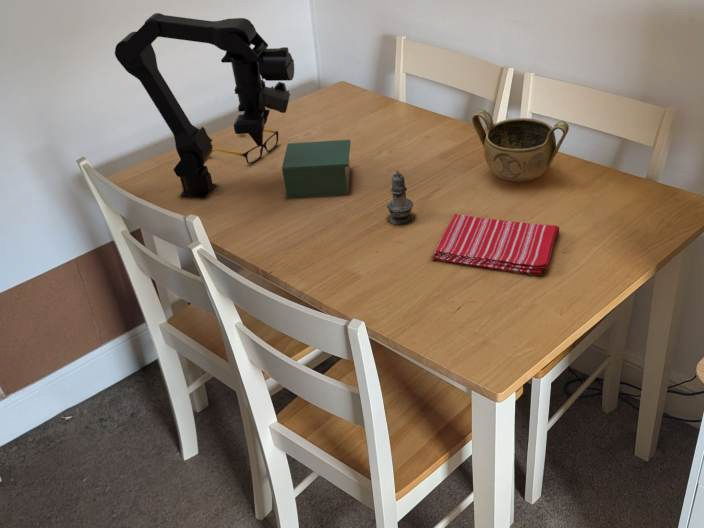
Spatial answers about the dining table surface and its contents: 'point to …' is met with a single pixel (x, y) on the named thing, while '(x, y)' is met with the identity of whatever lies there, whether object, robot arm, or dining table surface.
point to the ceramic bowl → (518, 146)
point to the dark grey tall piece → (399, 202)
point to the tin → (317, 182)
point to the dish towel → (497, 244)
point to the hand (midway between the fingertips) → (260, 145)
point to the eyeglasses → (254, 147)
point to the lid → (316, 155)
